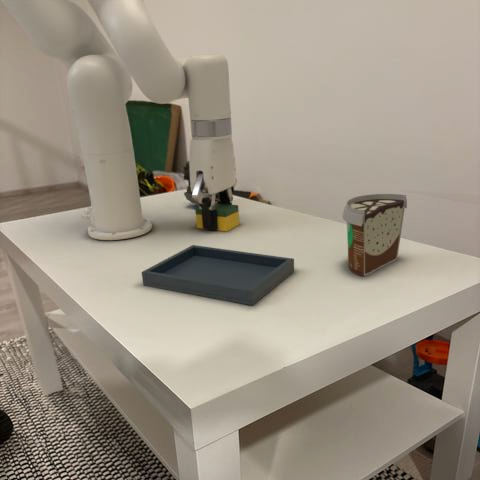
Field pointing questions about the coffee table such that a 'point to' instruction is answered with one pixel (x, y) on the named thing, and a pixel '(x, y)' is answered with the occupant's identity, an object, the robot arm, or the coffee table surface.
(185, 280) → the tray
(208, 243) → the coffee table surface
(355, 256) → the food container
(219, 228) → the sponge
